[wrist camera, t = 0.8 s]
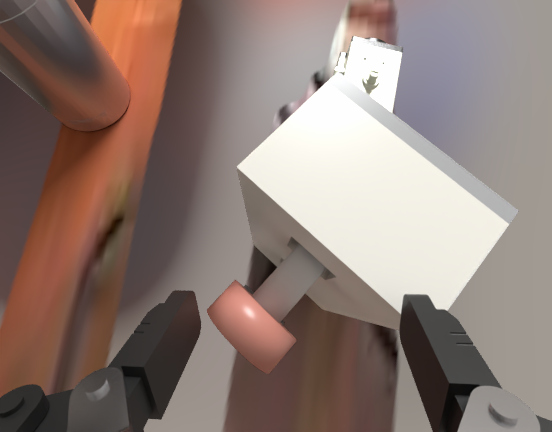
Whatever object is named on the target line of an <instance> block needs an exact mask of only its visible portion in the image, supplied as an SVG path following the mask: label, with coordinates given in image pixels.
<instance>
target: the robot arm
mask: <svg viewBox="0 0 552 432" xmlns="http://www.w3.org/2000/svg"><path fill="white" fill-rule="evenodd" d="M0 71H1V72H2V73H3V74H5V75H6V76H7V77H8V78H9V79H11V80H12V81H13V82H14V83H15V84H17V85H18V86H19V87H20V88H21V89H23V90H24V91H25V92H26V93H27V94H28V95H30V96H31V97H32V98H33V99H34V100H36V101H37V102H38V103H39V104H40V105H41V106H42V107H44V108H45V109H46V110H47V111H48V112H50V113H51V114H52V115H53V116H54V117H56V118H57V119H58V120H59V121H60V122H62V123H63V124H64V125H65V126H67V127H69V128H71V129H74V130H79V131H95V130H99V129H102V128H105V127H107V126H109V125H111V124H113V123H114V122H115V121H117V120H118V119H119V118H120V117H121V116H122V115H123V114H124V112H125V111H126V109H127V107H128V105H129V101H130V89H129V85H128V83H127V82H126V80H125V78H124V77H123V75H122V74H121V72H120V70H119V69H118V67H117V66H116V64H115V63H114V61H113V60H112V58H111V56H110V55H109V53H108V52H107V50H106V49H105V47H104V46H103V44H102V43H101V41H100V39H99V38H98V36H97V35H96V33H95V32H94V30H93V29H92V27H91V26H90V24H89V23H88V21H87V19H86V18H85V17H84V15H83V13H82V12H81V10H80V9H79V7H78V6H77V4H76V3H75V1H74V0H0ZM200 330H201V320H200V316H199V310H198V306H197V301H196V296H195V293H194V292H193V291H173V292H172V293H171V294H170V296H169V297H168V299H167V300H166V301H165V303H160V304H158V305H157V306H156V307H154V308H153V309H152V310H150V311H149V312H148V313H147V315H146V316H145V317H144V319H143V320H142V321H141V324H140V325H138V327H137V328H136V330H135V331H134V334H132V335H131V336H130V338H129V339H128V340H127V342H126V343H125V344H124V346H123V347H122V348H121V350H120V351H119V353H118V354H117V355H116V357H115V358H114V359H113V361H112V362H111V363H110V365H109V366H108V367H107V368H102V369H99V370H97V371H95V372H93V373H91V374H89V375H88V376H86V377H85V378H84V379H82V380H81V381H80V382H79V383H78V384H77V385H76V387H75V388H74V389H72V390H68V391H64V392H60V393H55V394H51V395H47V396H45V394H44V392H43V390H42V388H41V387H40V386H38V385H33V384H32V385H25V386H22V387H19V388H16V389H14V390H12V391H10V392H8V393H7V394H5V395H3V396H2V397H1V398H0V432H144V430H143V429H144V426H145V424H146V422H147V420H148V419H162V416H163V414H164V412H165V410H166V408H167V406H168V403H169V401H170V399H171V397H172V395H173V392H174V390H175V388H176V386H177V384H178V381H179V379H180V377H181V375H182V372H183V371H184V368H185V366H186V364H187V362H188V360H189V357H190V355H191V353H192V351H193V349H194V346H195V344H196V342H197V340H198V338H199V335H200ZM399 330H400V340H401V344H402V347H403V350H404V352H405V355H406V358H407V361H408V364H409V366H410V369H411V372H412V374H413V378H414V380H415V383H416V386H417V389H418V391H419V394H420V397H421V400H422V402H423V405H424V408H425V411H426V414H427V416H428V419H429V422H430V424H431V428H432V430H433V432H552V421H550V420H547V419H544V418H542V417H539V416H537V415H535V414H534V412H533V411H532V410H531V409H530V407H529V406H528V405H526V403H524V402H523V401H522V400H521V399H519V398H518V397H517V396H515V395H513V394H512V393H510V392H508V391H506V390H503V389H502V388H501V386H500V384H499V383H498V381H497V380H496V378H495V377H494V375H493V374H492V372H491V370H490V369H489V367H488V366H487V364H486V363H485V361H484V360H483V358H482V356H481V355H480V353H479V352H478V350H477V349H476V347H475V346H473V342H472V341H471V339H470V338H469V336H468V335H466V332H465V330H464V328H463V327H462V325H461V324H460V322H459V321H458V320H457V319H456V318H455V317H454V316H452V315H451V314H450V313H448V312H447V311H446V310H445V309H436V308H435V306H434V304H433V302H432V301H431V299H430V297H429V296H428V295H427V294H405V295H404V296H403V302H402V310H401V319H400V328H399Z"/></svg>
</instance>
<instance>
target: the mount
mask: <svg viewBox="0 0 552 432" xmlns="http://www.w3.org/2000/svg"><path fill="white" fill-rule="evenodd" d="M237 171H238V176H239V180H240V185H241V189H242V194H243V198H244V203H245V208H246V212H247V217H248V221H249V225H250V230H251V235H252V240H253V244H254V246H255V247H256V248H257V249H259V250H260V251H261V252H262V253H263V254H264V255H265V256H266V257H267V258H268V259H269V260H270V261H271V262H272V263H273V264H274V265H276V266H277V267H278V266H279V265H280V264H281V263H282V262H283V261H284V260H285V259H286V257H287V256H288V255H289V254H290V253H291V252H292V251H293V250H294V249H295V248H296V247H297V245H298V244H299V243H300V244H301V245H302V246H303V247H304V248H305V249H306V250H307V251H308V252H309V253H311V254H312V255H313V256H314V257H315V258H316V259H317V260H318V261H319V262H320V263H322V264H323V265H324V266H325V267H326V268H327V269H326V270H325V271H324V272H323V273H322V275H321V276H320V277H319V278H318V279H317V280H316V281H315V283H314V284H313V285H312V286H311V287H310V288H309V290H308V291H307V292H306V293H305V294H306V295H307V296H309V297H310V298H311V299H312V300H313V301H314V302H315V303H316V304H317V305H318V306H319V307H320V308H321V309H322V310H326V311H330V312H333V313H337V314H341V315H344V316H348V317H352V318H355V319H359V320H363V321H366V322H370V323H374V324H378V325H381V326H385V327H389V328H392V329H396V330H399V328H400V319H401V310H402V302H403V296H404V295H405V294H427V295H428V296H429V297H430V299H431V301H432V302H433V304H434V306H435V308H436V309H445V310H446V311H447V310H448V309H449V307H450V306H451V305H452V303H453V302H454V301H455V299H456V298H457V296H458V295H459V294H460V292H461V291H462V289H463V288H464V286H465V285H466V284H467V282H468V281H469V279H470V278H471V277H472V275H473V274H474V273H475V271H476V270H477V268H478V267H479V265H480V264H481V263H482V262H483V260H484V259H485V257H486V256H487V255H488V253H489V252H490V250H491V249H492V248H493V246H494V245H495V243H496V242H497V241H498V239H499V238H500V236H501V235H502V234H503V232H504V231H505V229H506V228H507V227H508V225H509V224H510V223H511V221H512V220H513V218H514V217H515V215H516V214H517V213H518V210H517V209H516V208H514V207H513V206H512V205H510V204H509V203H508V202H507V201H505V200H504V199H503V198H502V197H500V196H499V195H498V194H496V193H495V192H494V191H493V190H491V189H490V188H489V187H487V186H486V185H485V184H483V183H482V182H481V181H480V180H478V179H477V178H476V177H474V176H473V175H472V174H470V173H469V172H468V171H467V170H465V169H464V168H463V167H461V166H460V165H459V164H458V163H456V162H455V161H453V160H452V159H451V158H450V157H449V156H447V155H446V154H444V153H443V152H442V151H441V150H439V149H438V148H437V147H436V146H434V145H433V144H432V143H430V142H429V141H428V140H427V139H425V138H424V137H423V136H421V135H420V134H419V133H417V132H416V131H415V130H414V129H412V128H411V127H410V126H408V125H407V124H406V123H404V122H403V121H402V120H400V119H399V118H398V117H397V116H395V115H394V114H393V113H392V112H390V111H389V110H388V109H386V108H385V107H384V106H383V105H381V104H380V103H379V102H377V101H376V100H375V99H373V98H372V97H371V96H370V95H368V94H367V93H366V92H364V91H363V90H362V89H361V88H359V87H358V86H357V85H355V84H354V83H353V82H351V81H350V80H349V79H348V78H346V77H345V76H344V75H342V74H341V73H340V72H339V71H338V72H337V73H336V74H335V75H334V76H333V77H332V78H330V79H329V80H328V81H327V82H326V83H325V84H324V85H323V86H322V87H321V88H320V89H319V90H318V91H317V92H316V93H315V94H314V95H312V96H311V97H310V98H309V99H308V100H307V101H306V102H305V103H304V104H303V105H302V106H301V107H300V108H299V109H298V110H297V111H295V112H294V113H293V114H292V115H291V116H290V117H289V118H288V119H287V120H286V121H285V122H284V123H283V124H282V125H281V126H280V127H279V128H277V129H276V130H275V131H274V132H273V133H272V134H271V135H270V136H269V137H268V138H267V139H266V140H265V141H264V142H263V143H262V144H260V145H259V146H258V147H257V148H256V149H255V150H254V151H253V152H252V153H251V154H250V155H249V156H248V157H247V158H246V159H245V160H244V161H243V162H241V164H239V165H238V166H237Z"/></svg>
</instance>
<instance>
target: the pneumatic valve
mask: <svg viewBox="0 0 552 432" xmlns="http://www.w3.org/2000/svg"><path fill="white" fill-rule="evenodd" d="M402 52H403V48H402V47H399V46H394V45H390V44H386V43H385V42H384V41H382V40H380V39H377V38H360V37H356V36H353V37H352V40H351V43H350V45H349V48H348V51H347V53H344V52H340V56H339V59H338V62H337V65H336V67H335V70H334V74H333V76H334V75H335V74H336V73H337V72H338V71H339V72H340V73H341V74H342V75H344V76H345V77H346V78H348V79H349V80H350V81H351V82H353V83H354V84H355V85H357V86H358V87H359V88H361V89H362V90H363V91H364V92H366V93H367V94H368V95H370V96H371V97H372V98H373V99H375V100H376V101H377V102H379V103H380V104H381V105H383V106H384V107H385V108H386V109H388V110H389V111H390V112H392V113H393V106H394V100H395V94H396V88H397V82H398V76H399V70H400V64H401V58H402Z"/></svg>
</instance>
